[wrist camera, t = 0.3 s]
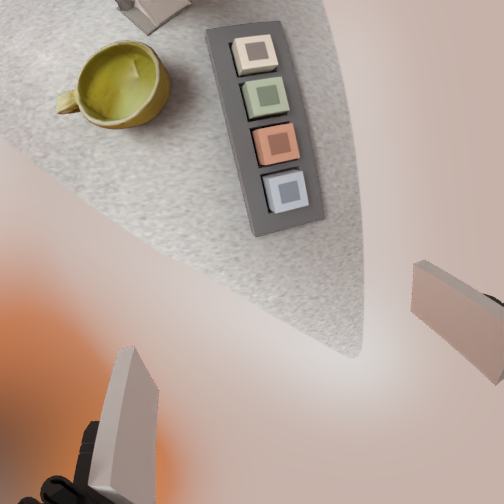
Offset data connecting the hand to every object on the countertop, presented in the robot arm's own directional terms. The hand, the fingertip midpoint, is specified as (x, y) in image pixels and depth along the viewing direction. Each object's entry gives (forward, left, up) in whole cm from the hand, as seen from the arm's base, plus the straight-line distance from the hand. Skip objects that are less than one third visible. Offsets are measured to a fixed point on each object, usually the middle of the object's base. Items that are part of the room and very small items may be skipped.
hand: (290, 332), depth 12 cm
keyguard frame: (-10, +7, -26) cm, 28 cm away
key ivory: (-18, +7, -24) cm, 31 cm away
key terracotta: (-7, +7, -24) cm, 26 cm away
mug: (-18, -9, -26) cm, 33 cm away
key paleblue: (-1, +7, -24) cm, 25 cm away
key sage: (-12, +7, -24) cm, 28 cm away
